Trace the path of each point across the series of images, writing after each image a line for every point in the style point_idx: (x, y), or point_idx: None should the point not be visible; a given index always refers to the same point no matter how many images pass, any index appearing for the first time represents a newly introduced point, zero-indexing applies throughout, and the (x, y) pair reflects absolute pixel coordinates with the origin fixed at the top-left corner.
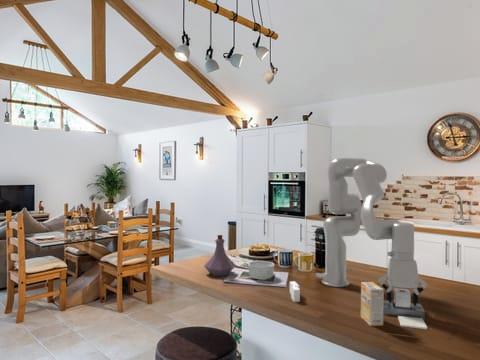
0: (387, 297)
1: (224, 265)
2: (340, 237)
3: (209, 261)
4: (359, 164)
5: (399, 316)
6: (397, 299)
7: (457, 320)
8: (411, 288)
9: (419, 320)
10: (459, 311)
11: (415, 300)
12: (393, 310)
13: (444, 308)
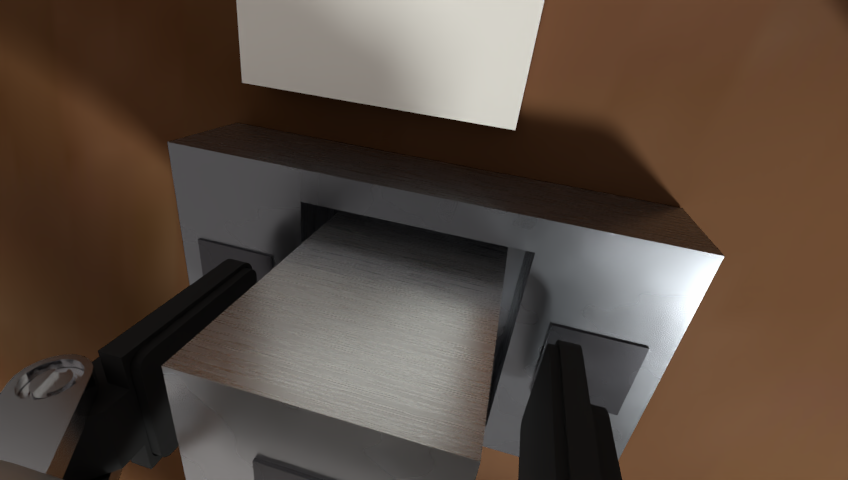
0: (607, 435)
1: None
2: None
3: None
4: None
5: (502, 110)
6: (463, 333)
7: (2, 158)
8: (2, 471)
9: (282, 6)
10: (16, 329)
11: (188, 296)
12: (553, 211)
13: None
